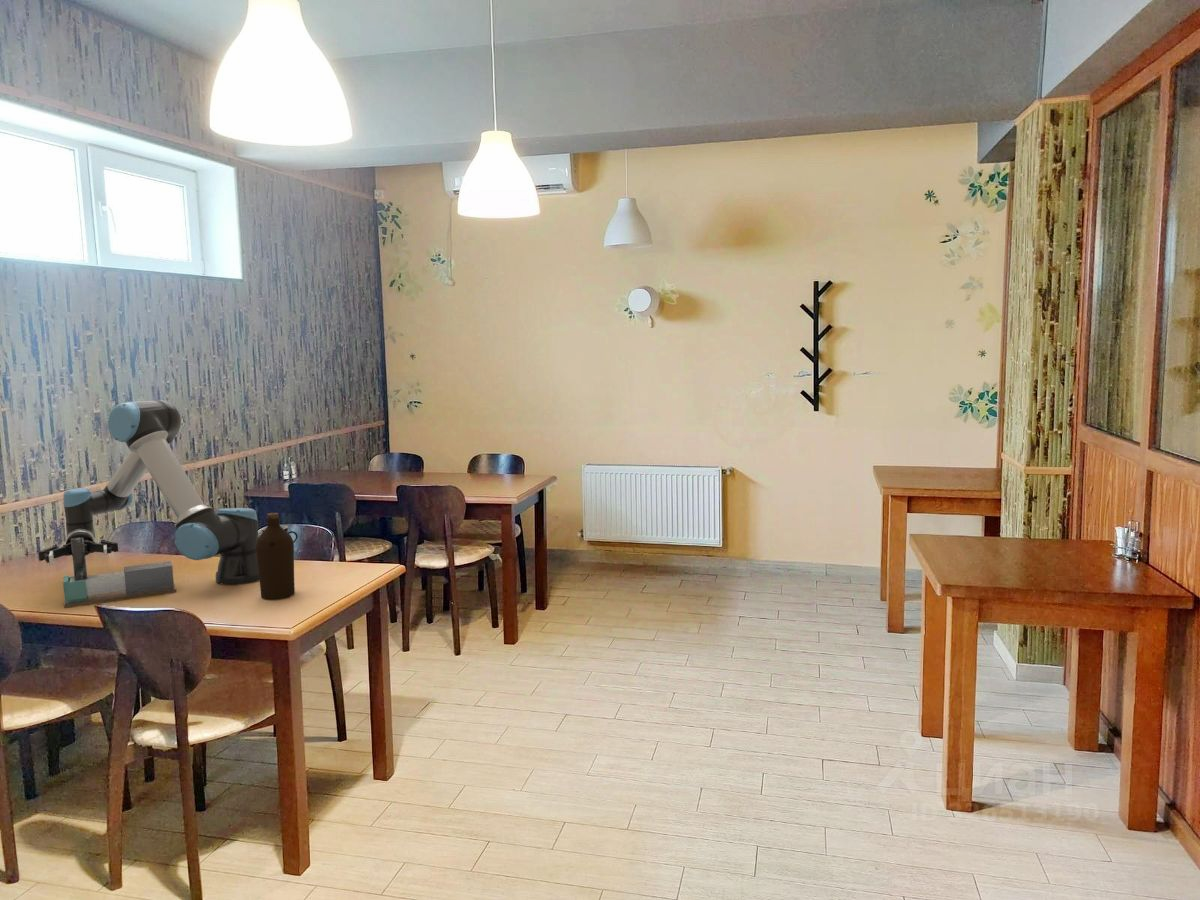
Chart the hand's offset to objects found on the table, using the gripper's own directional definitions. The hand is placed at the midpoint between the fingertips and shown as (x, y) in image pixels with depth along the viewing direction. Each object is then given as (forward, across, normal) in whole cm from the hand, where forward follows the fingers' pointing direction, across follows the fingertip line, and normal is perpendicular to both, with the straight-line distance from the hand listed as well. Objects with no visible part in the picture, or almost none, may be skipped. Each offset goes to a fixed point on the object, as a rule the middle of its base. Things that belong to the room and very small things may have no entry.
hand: (78, 557), depth 244 cm
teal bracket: (-3, +2, -13) cm, 13 cm away
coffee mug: (-28, -60, -14) cm, 67 cm away
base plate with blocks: (-3, -10, -14) cm, 17 cm away
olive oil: (+24, -50, -14) cm, 57 cm away
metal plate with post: (-3, -5, -12) cm, 13 cm away
